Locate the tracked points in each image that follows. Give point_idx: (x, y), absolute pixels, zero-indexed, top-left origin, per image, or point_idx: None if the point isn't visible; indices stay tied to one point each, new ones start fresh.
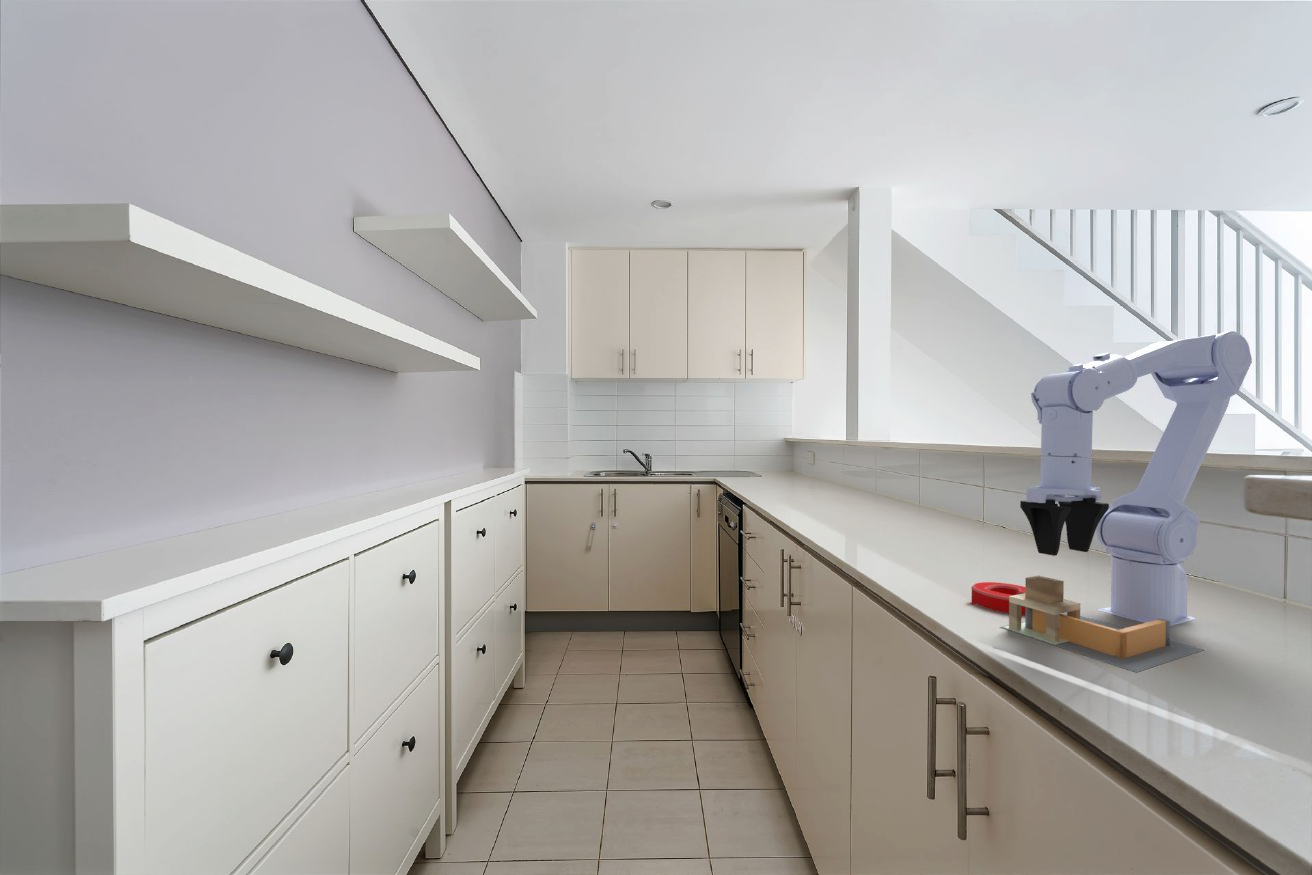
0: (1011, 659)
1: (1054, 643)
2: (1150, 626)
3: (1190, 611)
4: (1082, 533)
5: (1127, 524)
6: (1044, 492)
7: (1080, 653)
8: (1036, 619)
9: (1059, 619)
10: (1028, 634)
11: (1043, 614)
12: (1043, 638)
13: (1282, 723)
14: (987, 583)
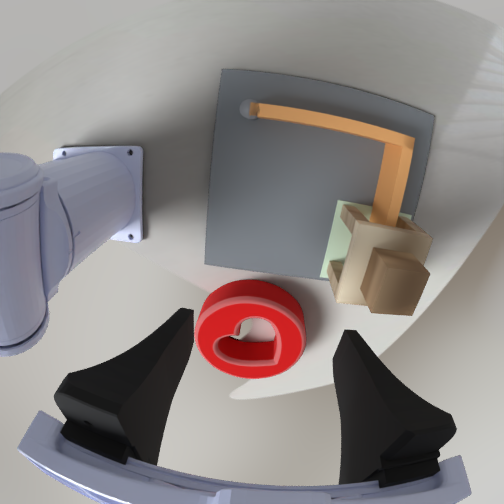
0: (472, 232)
1: (410, 216)
2: (321, 113)
3: None
4: (175, 355)
5: (5, 295)
6: (459, 488)
7: (421, 181)
8: None
9: (411, 227)
10: None
11: None
12: None
13: (424, 6)
14: (237, 371)
